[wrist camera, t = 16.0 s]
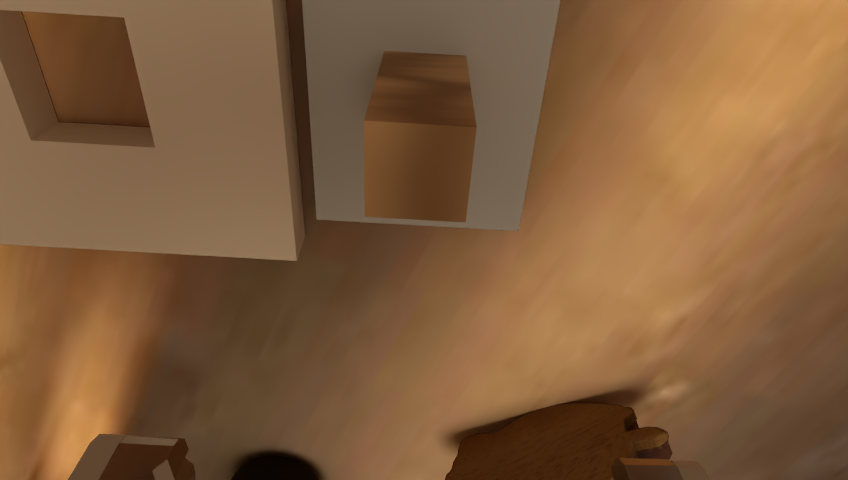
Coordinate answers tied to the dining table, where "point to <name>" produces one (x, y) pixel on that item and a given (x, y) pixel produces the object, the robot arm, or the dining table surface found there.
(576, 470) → the wooden carving
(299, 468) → the cola bottle
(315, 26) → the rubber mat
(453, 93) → the oak block
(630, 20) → the dining table surface
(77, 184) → the beige board with hole
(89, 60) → the dining table surface
